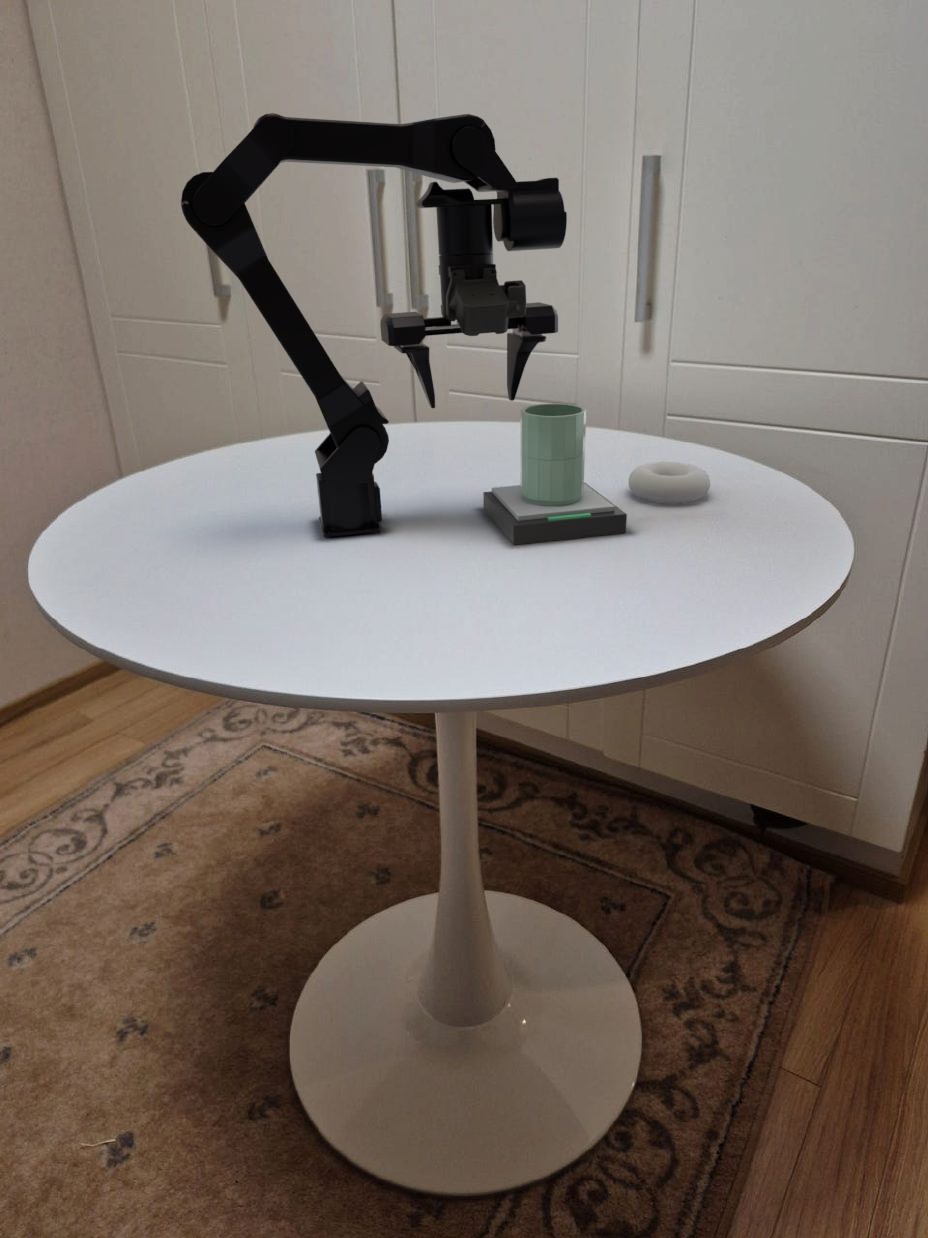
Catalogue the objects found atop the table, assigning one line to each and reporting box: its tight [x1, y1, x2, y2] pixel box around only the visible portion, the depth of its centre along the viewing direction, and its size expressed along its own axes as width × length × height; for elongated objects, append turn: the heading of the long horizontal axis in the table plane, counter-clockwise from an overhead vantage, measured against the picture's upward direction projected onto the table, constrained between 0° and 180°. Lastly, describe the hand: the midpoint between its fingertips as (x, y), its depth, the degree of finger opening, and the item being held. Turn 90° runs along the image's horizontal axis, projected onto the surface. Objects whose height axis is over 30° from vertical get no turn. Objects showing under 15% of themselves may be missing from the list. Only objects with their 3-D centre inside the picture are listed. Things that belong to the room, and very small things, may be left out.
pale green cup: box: [519, 402, 587, 506], centre depth 97 cm, size 7×7×10 cm
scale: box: [482, 482, 628, 546], centre depth 99 cm, size 13×13×3 cm
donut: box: [628, 461, 711, 505], centre depth 107 cm, size 10×4×10 cm
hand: (472, 403), depth 97 cm, fingers open, 9 cm apart
